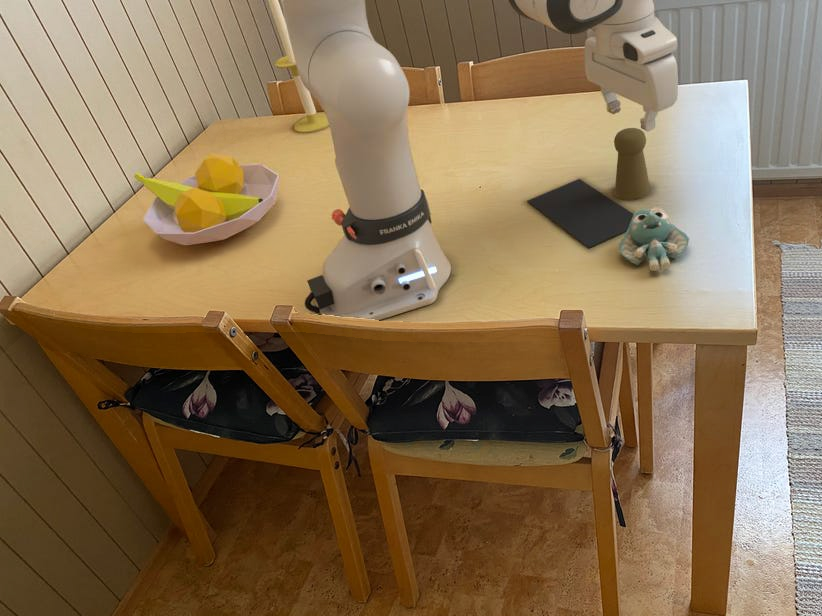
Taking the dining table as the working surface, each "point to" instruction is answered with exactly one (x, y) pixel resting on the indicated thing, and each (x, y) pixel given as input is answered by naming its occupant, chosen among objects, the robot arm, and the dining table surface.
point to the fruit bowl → (211, 201)
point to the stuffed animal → (652, 239)
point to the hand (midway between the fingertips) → (630, 120)
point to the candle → (296, 77)
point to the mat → (584, 212)
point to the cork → (631, 165)
